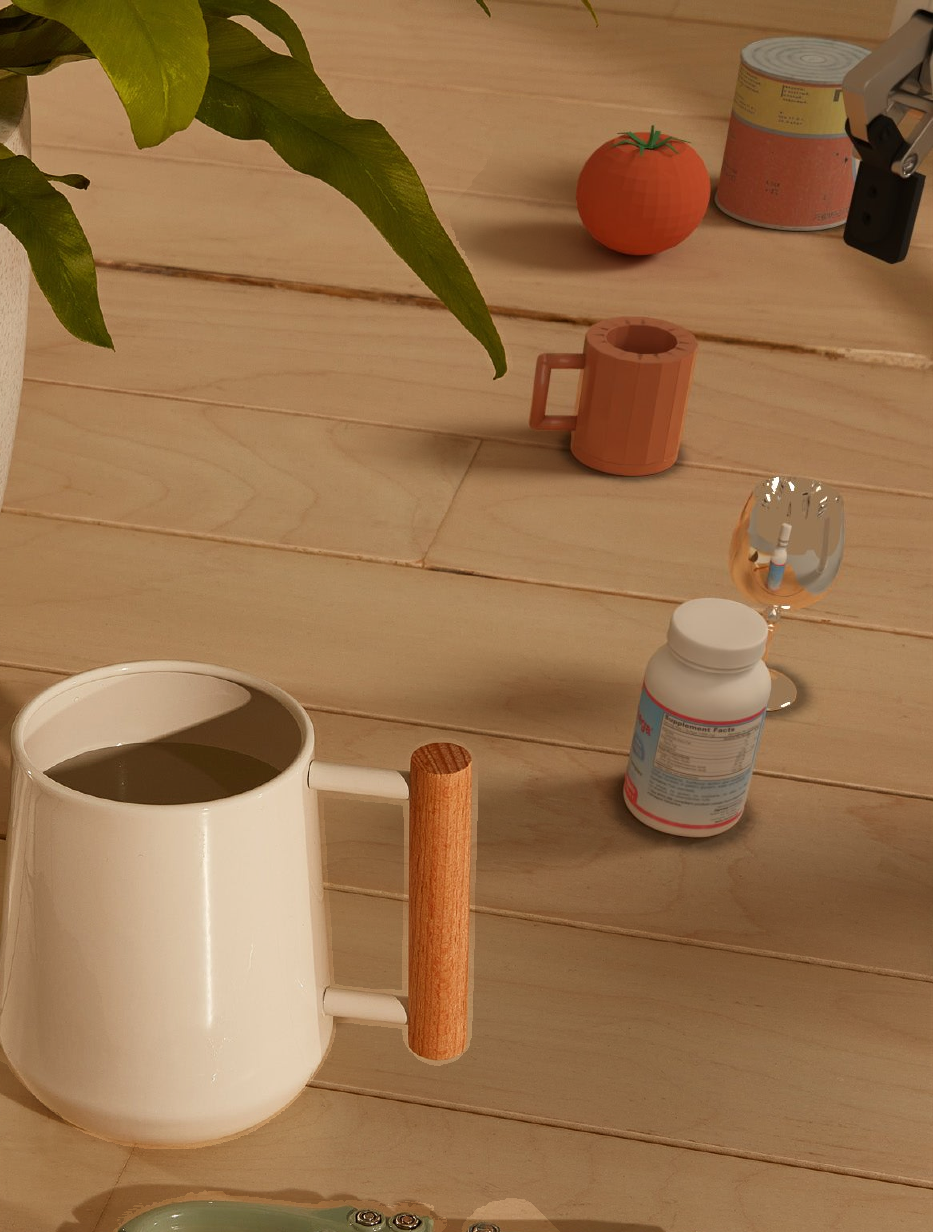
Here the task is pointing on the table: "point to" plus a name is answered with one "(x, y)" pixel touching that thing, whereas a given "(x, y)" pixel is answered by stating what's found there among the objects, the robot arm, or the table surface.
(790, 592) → the wineglass
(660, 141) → the tomato
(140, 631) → the table surface
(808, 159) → the canned food
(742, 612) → the pill bottle
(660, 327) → the mug
